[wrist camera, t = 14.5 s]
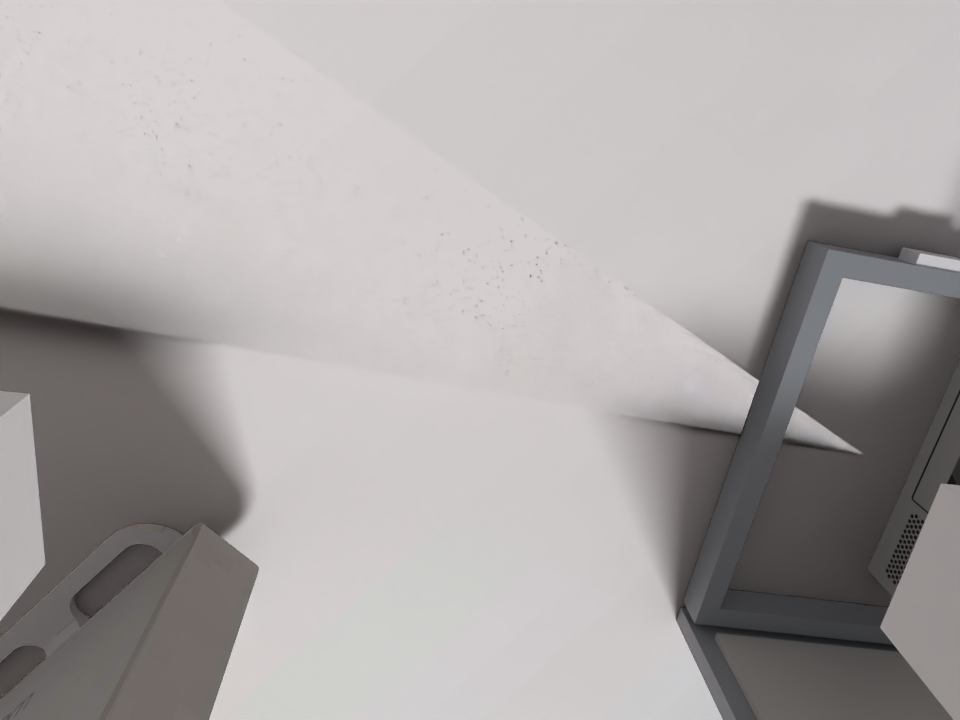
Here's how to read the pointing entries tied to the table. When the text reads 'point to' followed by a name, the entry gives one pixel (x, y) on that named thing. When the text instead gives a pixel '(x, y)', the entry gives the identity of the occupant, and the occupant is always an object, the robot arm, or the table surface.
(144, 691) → the network device
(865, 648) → the equipment case
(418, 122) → the table surface
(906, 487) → the cassette player
